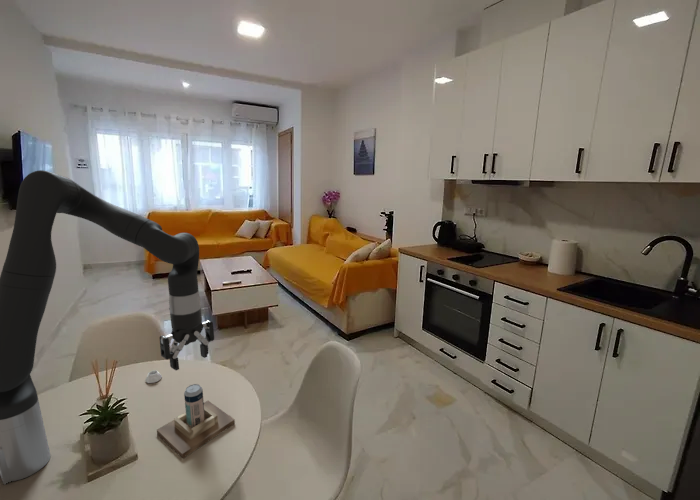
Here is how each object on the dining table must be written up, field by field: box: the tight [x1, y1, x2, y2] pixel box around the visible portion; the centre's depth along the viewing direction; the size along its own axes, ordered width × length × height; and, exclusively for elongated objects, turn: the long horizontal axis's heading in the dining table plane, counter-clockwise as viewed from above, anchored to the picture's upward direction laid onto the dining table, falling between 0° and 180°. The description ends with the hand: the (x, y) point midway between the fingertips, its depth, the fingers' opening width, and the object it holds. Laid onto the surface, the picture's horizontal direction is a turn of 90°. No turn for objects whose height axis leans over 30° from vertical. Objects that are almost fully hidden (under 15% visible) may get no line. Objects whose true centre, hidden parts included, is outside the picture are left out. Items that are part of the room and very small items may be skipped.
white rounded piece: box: [145, 369, 162, 384], centre depth 122 cm, size 5×3×5 cm
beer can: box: [183, 383, 205, 429], centre depth 98 cm, size 5×5×12 cm
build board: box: [156, 400, 236, 459], centre depth 99 cm, size 16×14×4 cm
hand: (190, 362), depth 94 cm, fingers open, 7 cm apart
